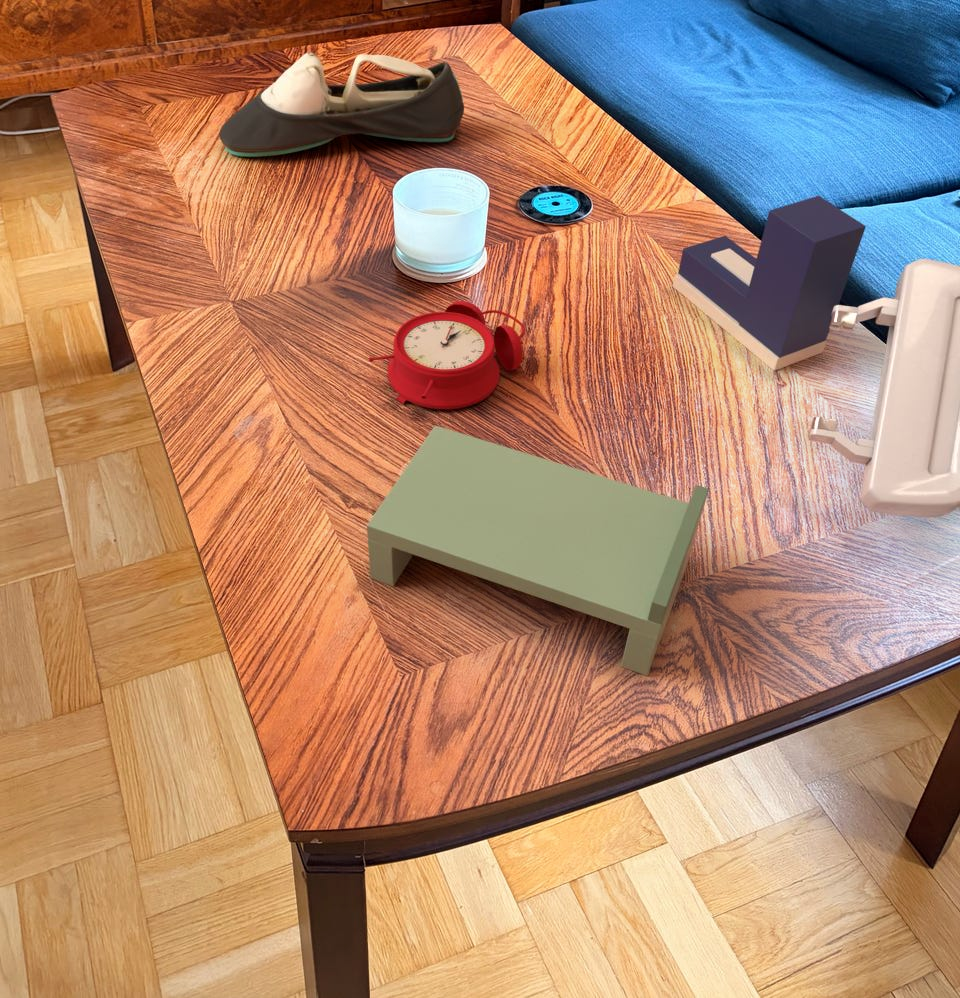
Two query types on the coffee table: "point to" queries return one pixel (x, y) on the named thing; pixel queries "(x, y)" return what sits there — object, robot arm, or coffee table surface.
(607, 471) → the coffee table surface
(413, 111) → the ballet flat
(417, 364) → the alarm clock
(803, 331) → the dark blue l-shaped block
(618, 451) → the coffee table surface
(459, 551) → the shoe rack
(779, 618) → the coffee table surface
